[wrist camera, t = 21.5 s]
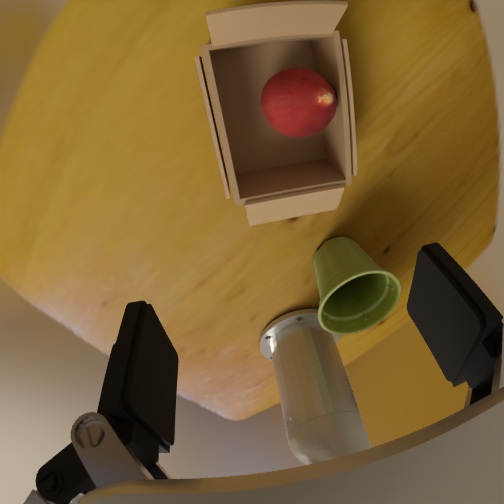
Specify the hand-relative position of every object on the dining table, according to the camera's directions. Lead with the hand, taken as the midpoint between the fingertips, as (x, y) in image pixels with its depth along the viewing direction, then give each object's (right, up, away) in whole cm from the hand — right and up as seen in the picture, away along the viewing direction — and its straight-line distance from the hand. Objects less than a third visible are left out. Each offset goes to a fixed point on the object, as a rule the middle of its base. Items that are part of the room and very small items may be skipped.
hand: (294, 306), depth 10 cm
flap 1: (0, +16, +5) cm, 17 cm away
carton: (0, +15, +15) cm, 22 cm away
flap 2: (+2, +6, +16) cm, 17 cm away
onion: (+1, +15, +15) cm, 21 cm away
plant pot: (+9, +1, +27) cm, 28 cm away
